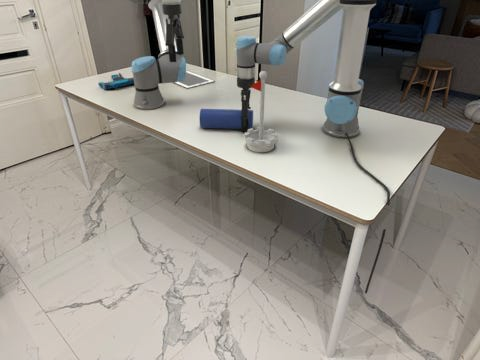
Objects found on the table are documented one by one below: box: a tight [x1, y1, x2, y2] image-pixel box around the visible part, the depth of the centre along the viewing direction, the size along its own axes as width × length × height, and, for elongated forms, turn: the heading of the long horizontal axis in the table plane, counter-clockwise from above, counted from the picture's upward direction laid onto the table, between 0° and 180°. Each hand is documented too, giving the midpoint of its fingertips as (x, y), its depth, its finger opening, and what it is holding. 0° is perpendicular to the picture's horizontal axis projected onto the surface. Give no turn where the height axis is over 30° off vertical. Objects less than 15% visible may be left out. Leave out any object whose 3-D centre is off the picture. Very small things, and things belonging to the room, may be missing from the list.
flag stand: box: [244, 70, 278, 153], centre depth 129 cm, size 13×13×30 cm
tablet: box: [172, 70, 215, 89], centre depth 214 cm, size 32×20×1 cm, turn 41°
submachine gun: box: [97, 74, 134, 90], centre depth 209 cm, size 34×4×25 cm
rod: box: [199, 107, 254, 130], centre depth 150 cm, size 23×8×8 cm, turn 85°
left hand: (177, 57), depth 148 cm, fingers open, 13 cm apart
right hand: (245, 127), depth 152 cm, fingers closed on rod, 8 cm apart
